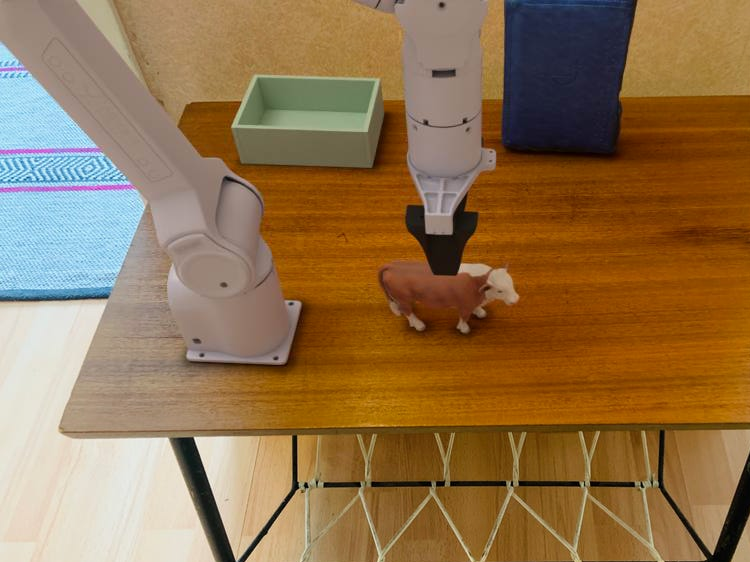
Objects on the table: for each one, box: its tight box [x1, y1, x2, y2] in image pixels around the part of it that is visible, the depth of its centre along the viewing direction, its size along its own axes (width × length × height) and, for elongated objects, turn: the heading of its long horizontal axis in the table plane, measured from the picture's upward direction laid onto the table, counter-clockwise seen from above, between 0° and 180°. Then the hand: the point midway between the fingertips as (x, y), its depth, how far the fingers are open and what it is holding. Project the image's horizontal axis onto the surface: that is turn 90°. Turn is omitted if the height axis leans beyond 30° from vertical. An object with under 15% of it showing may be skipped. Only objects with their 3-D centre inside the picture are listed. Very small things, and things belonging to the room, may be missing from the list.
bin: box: [230, 74, 385, 169], centre depth 94 cm, size 16×11×5 cm
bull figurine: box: [377, 260, 520, 335], centre depth 73 cm, size 4×13×8 cm, turn 78°
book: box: [500, 0, 639, 154], centre depth 87 cm, size 14×5×20 cm, turn 86°
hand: (448, 242), depth 68 cm, fingers open, 7 cm apart
